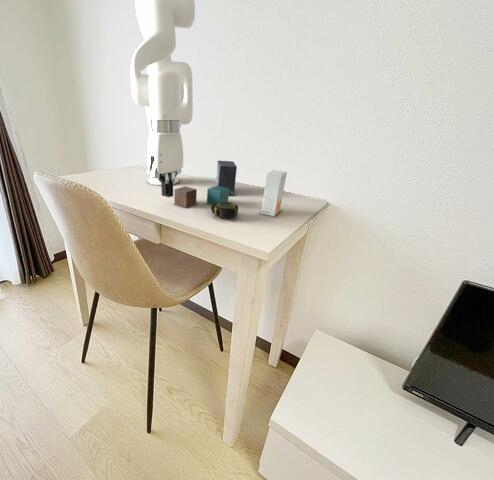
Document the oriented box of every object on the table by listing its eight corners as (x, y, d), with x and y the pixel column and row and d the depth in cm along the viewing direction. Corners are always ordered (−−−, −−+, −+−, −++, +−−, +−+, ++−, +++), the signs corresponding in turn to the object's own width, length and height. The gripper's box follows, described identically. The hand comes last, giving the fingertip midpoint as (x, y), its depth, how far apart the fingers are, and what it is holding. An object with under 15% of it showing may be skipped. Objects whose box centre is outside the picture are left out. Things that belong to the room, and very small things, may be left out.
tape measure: (231, 211, 78) (232, 200, 76) (241, 220, 72) (242, 207, 71) (210, 213, 76) (210, 201, 75) (218, 222, 70) (219, 209, 69)
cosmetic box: (274, 216, 75) (281, 175, 70) (260, 213, 77) (266, 173, 72) (280, 210, 80) (287, 171, 74) (266, 208, 82) (272, 169, 76)
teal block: (206, 203, 85) (207, 188, 82) (215, 199, 88) (216, 185, 86) (219, 206, 82) (220, 191, 80) (228, 203, 85) (229, 188, 83)
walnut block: (174, 204, 83) (174, 189, 81) (184, 200, 87) (185, 186, 84) (186, 208, 80) (186, 192, 78) (196, 204, 84) (196, 189, 82)
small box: (235, 195, 93) (237, 166, 88) (216, 195, 93) (218, 165, 88) (231, 187, 102) (234, 160, 97) (215, 187, 102) (216, 160, 97)
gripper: (175, 126, 75) (176, 188, 83) (133, 128, 65) (139, 198, 73) (194, 127, 70) (193, 193, 79) (153, 129, 60) (157, 204, 68)
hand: (167, 195), depth 76 cm, fingers closed
